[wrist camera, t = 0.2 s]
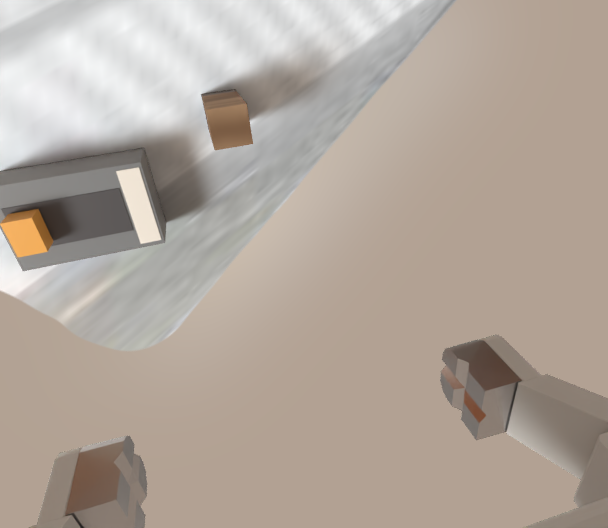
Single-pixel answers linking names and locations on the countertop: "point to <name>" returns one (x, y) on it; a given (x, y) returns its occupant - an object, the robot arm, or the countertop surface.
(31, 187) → the switch box
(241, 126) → the brown wooden block
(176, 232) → the countertop surface
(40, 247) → the switch tab
